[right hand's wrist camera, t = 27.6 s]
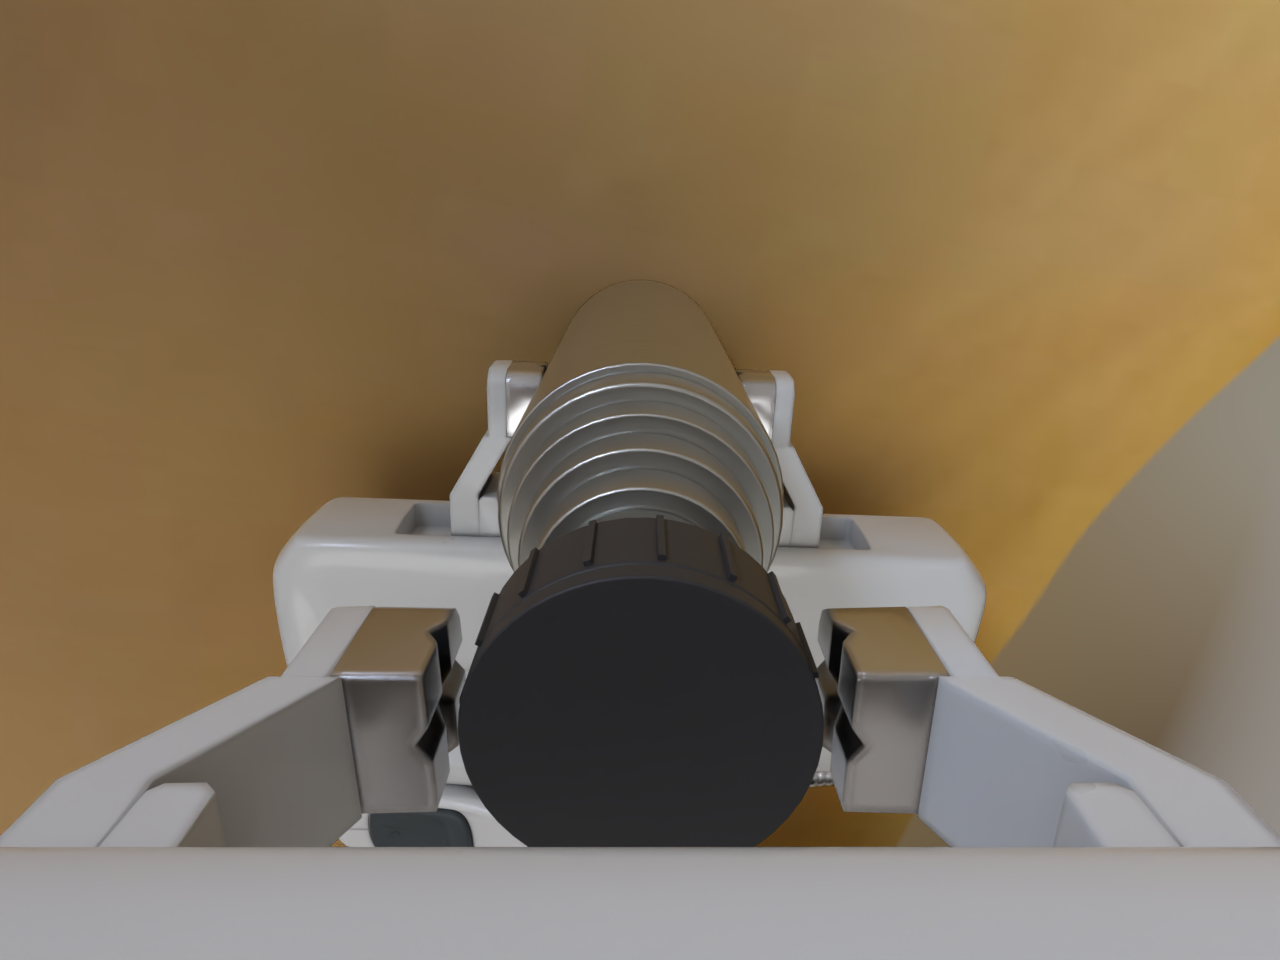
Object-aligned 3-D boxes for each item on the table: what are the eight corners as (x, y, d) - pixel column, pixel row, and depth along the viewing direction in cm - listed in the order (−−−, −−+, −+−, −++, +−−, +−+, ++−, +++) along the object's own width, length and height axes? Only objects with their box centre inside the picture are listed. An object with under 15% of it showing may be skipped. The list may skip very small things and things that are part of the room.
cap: (619, 446, 9) (615, 495, 8) (867, 644, 10) (906, 721, 8) (418, 676, 10) (381, 758, 9) (658, 835, 11) (661, 934, 9)
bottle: (614, 248, 26) (555, 384, 8) (748, 334, 27) (967, 629, 9) (534, 383, 28) (334, 753, 10) (663, 460, 29) (704, 928, 11)
